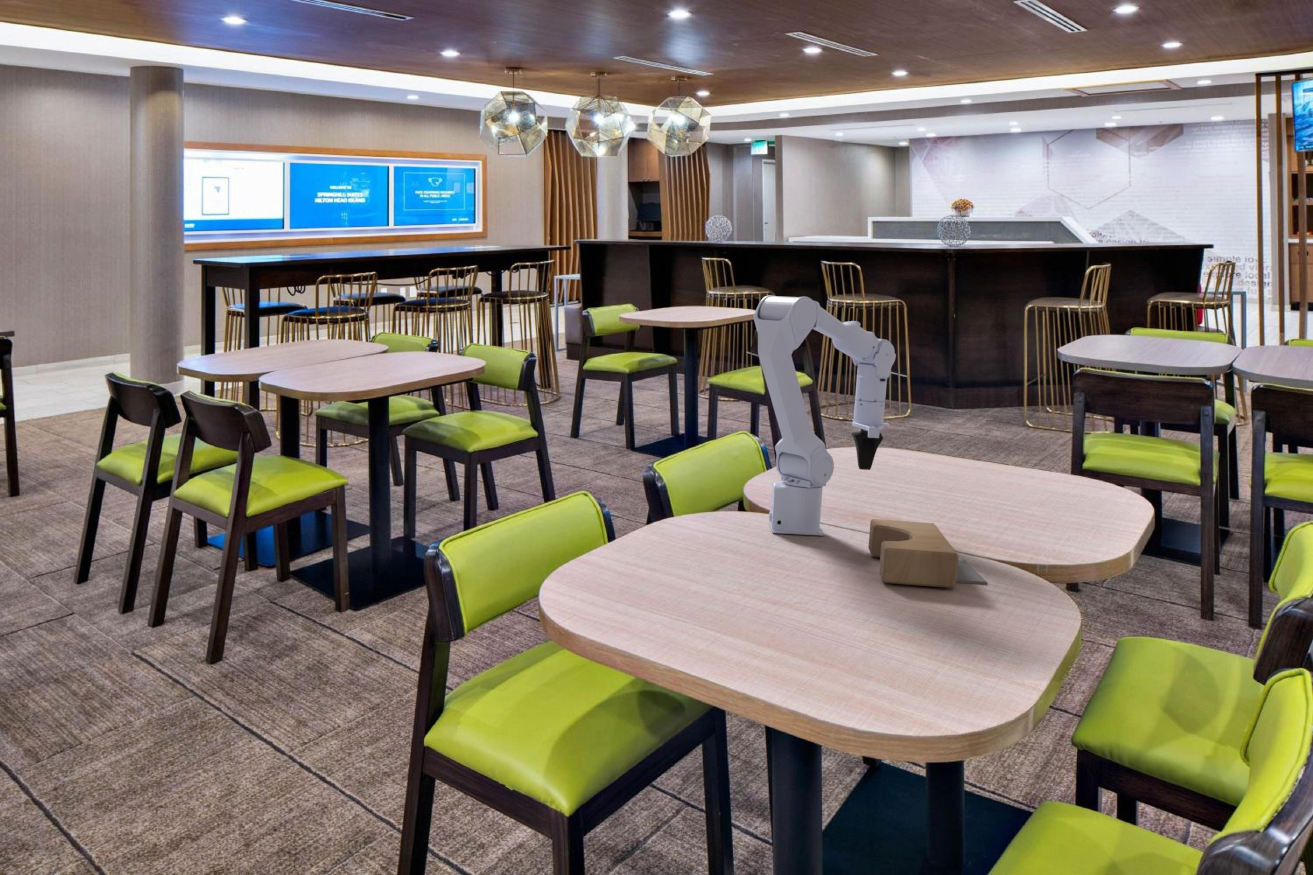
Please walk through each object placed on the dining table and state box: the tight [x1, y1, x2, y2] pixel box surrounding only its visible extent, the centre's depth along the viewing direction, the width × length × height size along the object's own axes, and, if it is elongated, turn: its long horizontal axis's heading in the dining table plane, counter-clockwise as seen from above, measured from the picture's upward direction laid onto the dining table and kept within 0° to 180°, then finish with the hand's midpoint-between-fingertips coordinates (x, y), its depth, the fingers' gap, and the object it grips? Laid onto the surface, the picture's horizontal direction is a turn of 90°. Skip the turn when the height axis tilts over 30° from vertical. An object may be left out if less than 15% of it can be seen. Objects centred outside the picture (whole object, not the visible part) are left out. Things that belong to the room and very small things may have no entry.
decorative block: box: [867, 518, 959, 589], centre depth 153 cm, size 11×6×20 cm
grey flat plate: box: [956, 559, 988, 585], centre depth 154 cm, size 14×12×1 cm
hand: (864, 469), depth 185 cm, fingers closed
